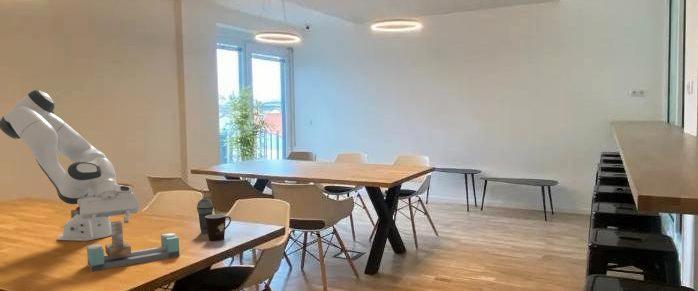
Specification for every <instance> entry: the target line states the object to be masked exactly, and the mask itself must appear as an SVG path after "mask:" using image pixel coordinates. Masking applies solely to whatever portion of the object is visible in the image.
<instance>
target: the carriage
mask: <svg viewBox="0 0 698 291" xmlns="http://www.w3.org/2000/svg"><path fill="white" fill-rule="evenodd" d="M110 222H111V232H112V235H111V243H107V244H106V243H105V244H104V245H105V254H106V256H109V257H110V258H114V257H120V256H126V255H131V252H132V247H131V245H130V244H129V243H128V242H127V241H126V240H125V241H124V232H123V231H124V228H123V222H122V221H121V220H119V221H110Z"/></svg>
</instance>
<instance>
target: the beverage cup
mask: <svg viewBox="0 0 698 291" xmlns="http://www.w3.org/2000/svg"><path fill="white" fill-rule="evenodd" d="M200 189H201V196H202V198H200V200H199V201H198V202H197V205H196V211H197V213H198V214H197V215H198V220H199V221H198V222H199V228H200V234H202V235H208V231H207V225H206V219H205V216H208V215H213V210H214V204H213V202H212V200H211V199H209V198H205V197H204V192H203V188H200Z"/></svg>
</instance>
